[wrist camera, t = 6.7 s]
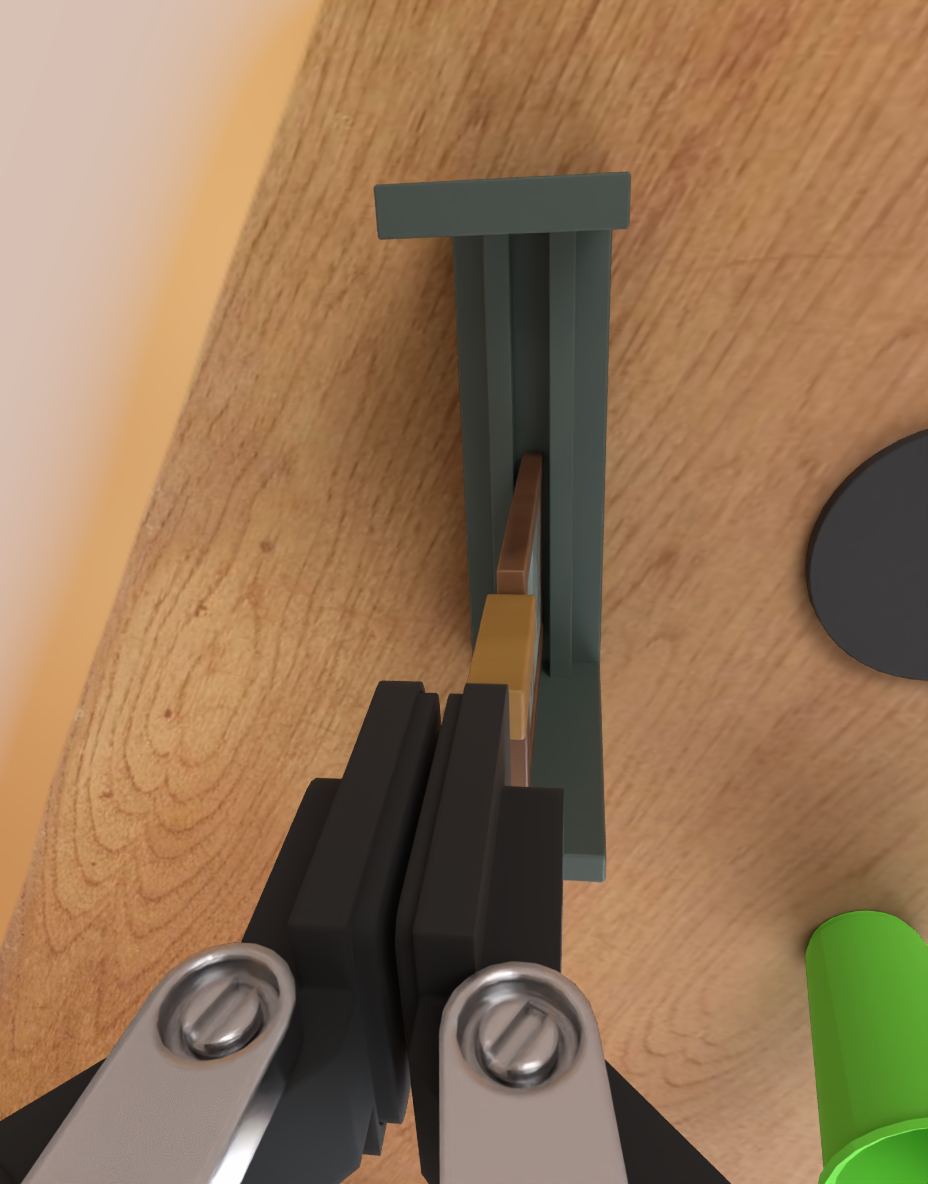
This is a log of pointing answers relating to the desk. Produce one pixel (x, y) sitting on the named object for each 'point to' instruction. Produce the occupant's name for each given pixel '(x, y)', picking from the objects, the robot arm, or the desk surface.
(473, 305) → the window frame
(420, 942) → the robot arm
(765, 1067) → the desk surface
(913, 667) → the coaster
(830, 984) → the cup
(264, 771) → the desk surface
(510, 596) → the window sash
